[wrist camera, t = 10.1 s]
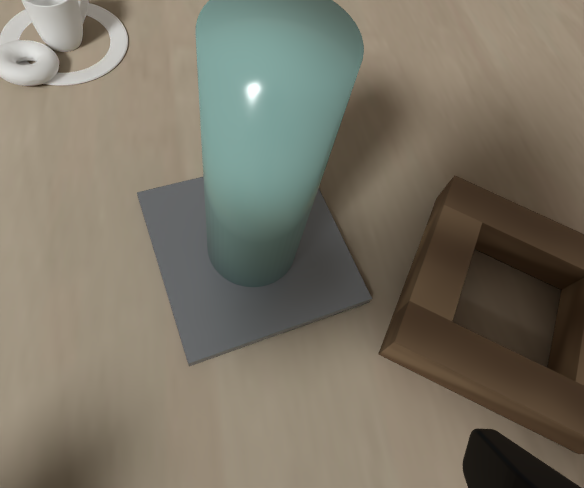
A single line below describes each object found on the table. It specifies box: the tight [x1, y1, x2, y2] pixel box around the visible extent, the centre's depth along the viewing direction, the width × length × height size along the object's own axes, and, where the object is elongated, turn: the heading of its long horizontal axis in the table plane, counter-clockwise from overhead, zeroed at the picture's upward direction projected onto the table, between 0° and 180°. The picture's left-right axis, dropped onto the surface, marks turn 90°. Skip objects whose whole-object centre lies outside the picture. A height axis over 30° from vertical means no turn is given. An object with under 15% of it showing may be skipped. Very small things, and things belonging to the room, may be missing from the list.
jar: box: [196, 0, 364, 287], centre depth 19 cm, size 5×5×14 cm
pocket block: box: [379, 176, 584, 454], centre depth 25 cm, size 11×11×2 cm
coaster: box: [137, 177, 372, 366], centre depth 25 cm, size 10×10×1 cm
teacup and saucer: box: [0, 0, 128, 86], centre depth 29 cm, size 9×8×4 cm
